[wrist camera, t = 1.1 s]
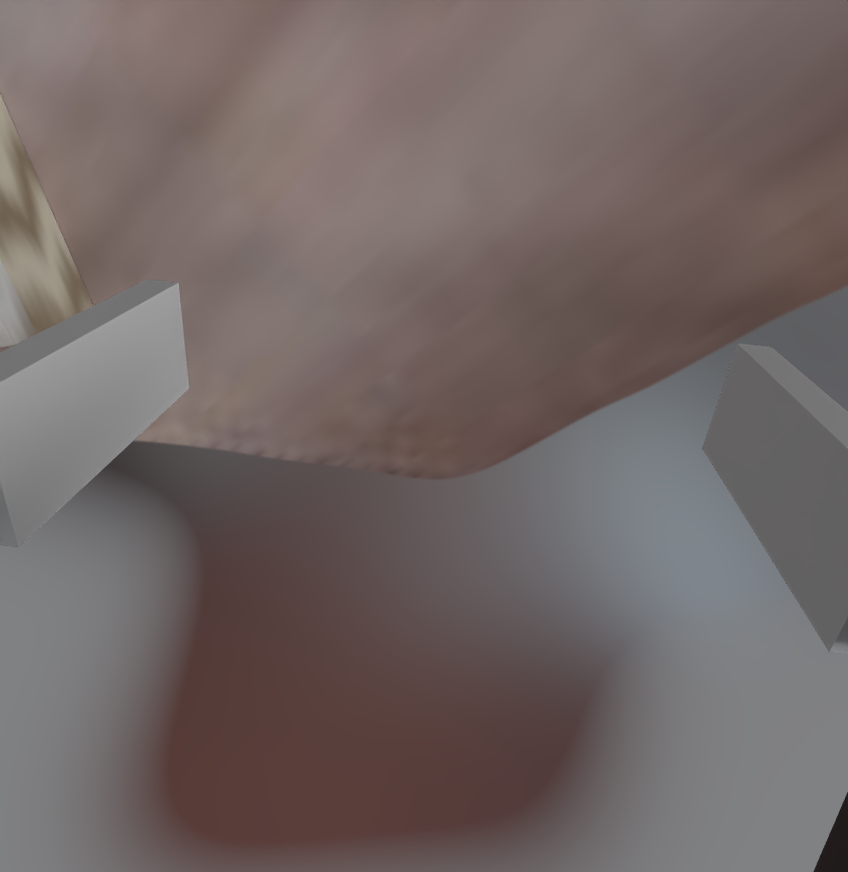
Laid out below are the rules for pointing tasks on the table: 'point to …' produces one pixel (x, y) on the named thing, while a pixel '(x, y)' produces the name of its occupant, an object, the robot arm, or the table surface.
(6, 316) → the display stand
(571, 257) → the table surface
